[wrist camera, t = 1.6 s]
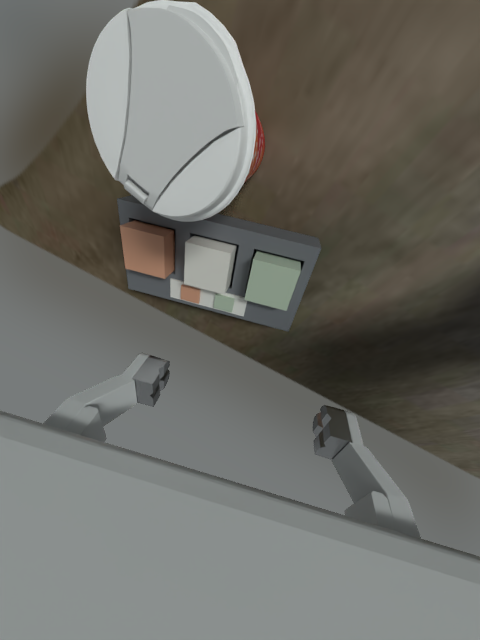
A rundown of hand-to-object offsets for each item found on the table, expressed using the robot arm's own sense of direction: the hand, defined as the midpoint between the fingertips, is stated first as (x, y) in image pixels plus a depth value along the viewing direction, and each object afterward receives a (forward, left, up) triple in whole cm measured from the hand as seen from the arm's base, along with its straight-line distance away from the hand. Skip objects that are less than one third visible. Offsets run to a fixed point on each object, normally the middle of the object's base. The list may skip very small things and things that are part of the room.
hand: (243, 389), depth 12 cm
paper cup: (+6, -10, -18) cm, 22 cm away
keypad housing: (+6, +1, -18) cm, 19 cm away
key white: (+6, 0, -15) cm, 16 cm away
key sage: (0, 0, -15) cm, 15 cm away
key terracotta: (+13, 0, -15) cm, 20 cm away
